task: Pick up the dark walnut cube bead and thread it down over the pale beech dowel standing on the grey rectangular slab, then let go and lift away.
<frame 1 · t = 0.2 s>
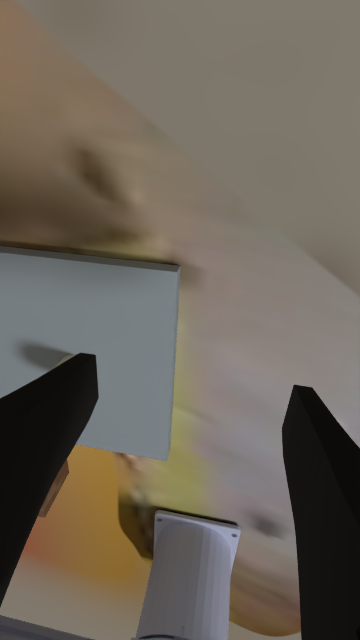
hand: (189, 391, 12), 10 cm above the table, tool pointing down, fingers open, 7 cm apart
grey rectangular slab: (82, 357, 25), on the table
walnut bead: (40, 449, 31), on the table
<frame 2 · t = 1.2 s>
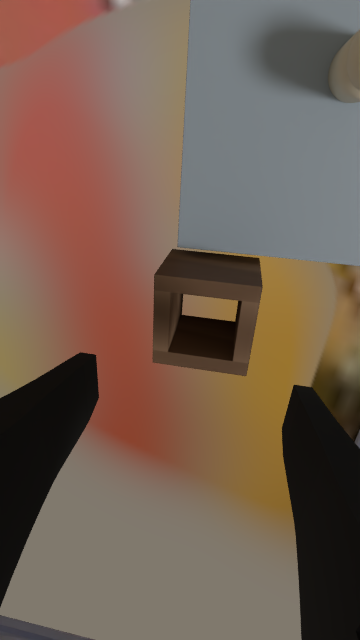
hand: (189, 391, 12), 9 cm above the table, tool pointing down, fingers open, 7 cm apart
grey rectangular slab: (349, 76, 15), on the table
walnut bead: (210, 293, 21), on the table
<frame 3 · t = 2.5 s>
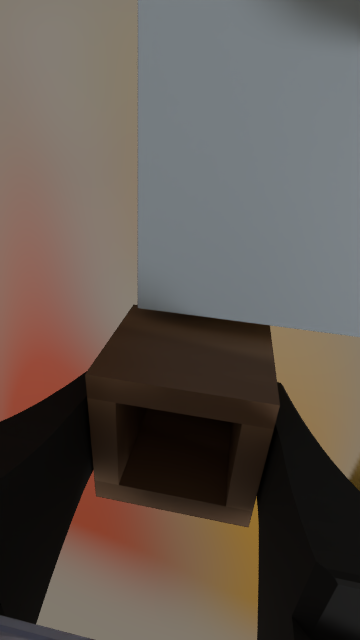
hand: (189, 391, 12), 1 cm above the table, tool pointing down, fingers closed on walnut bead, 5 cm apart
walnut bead: (194, 368, 14), on the table, touching gripper
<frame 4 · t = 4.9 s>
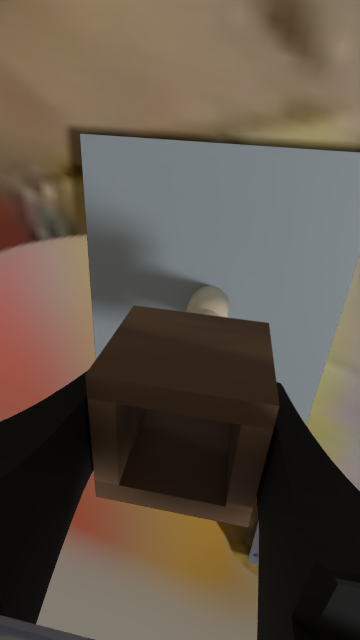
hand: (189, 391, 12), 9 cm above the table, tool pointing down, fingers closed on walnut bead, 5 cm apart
grey rectangular slab: (211, 295, 20), on the table
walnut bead: (194, 369, 14), point 7 cm above the table, touching gripper
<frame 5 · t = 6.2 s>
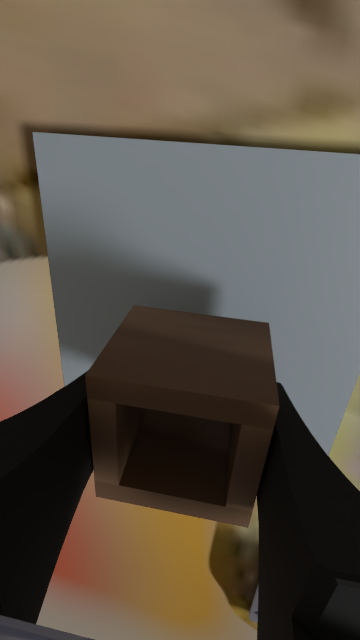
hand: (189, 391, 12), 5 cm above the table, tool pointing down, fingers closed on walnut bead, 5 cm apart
grey rectangular slab: (203, 329, 17), on the table
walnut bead: (194, 369, 14), point 3 cm above the table, touching gripper
when the fingers open (4 cm above the table, at t = 7.3 s): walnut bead drops 1 cm, resting on grey rectangular slab.
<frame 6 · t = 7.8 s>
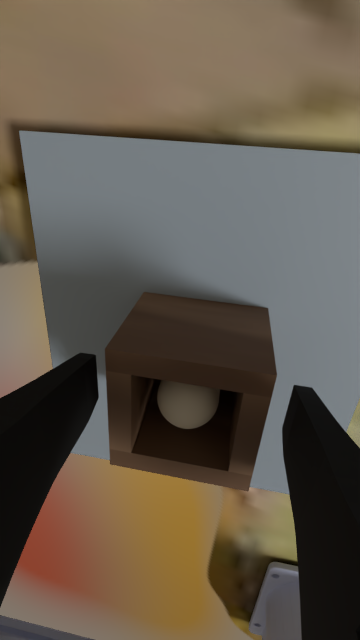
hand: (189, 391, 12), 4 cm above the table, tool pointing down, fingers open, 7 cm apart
grey rectangular slab: (201, 337, 16), on the table
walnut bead: (198, 352, 15), point 1 cm above the table, touching grey rectangular slab
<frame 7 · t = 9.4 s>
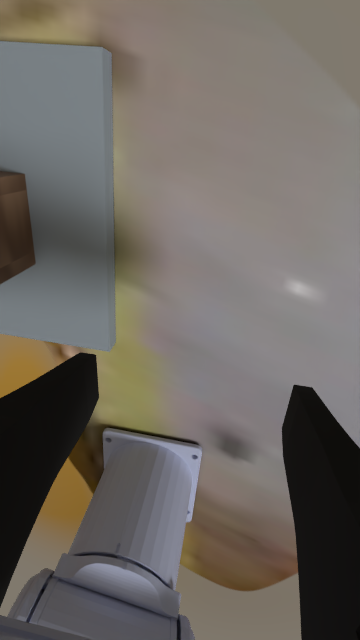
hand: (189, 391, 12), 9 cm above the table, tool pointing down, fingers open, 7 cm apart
grey rectangular slab: (2, 212, 21), on the table
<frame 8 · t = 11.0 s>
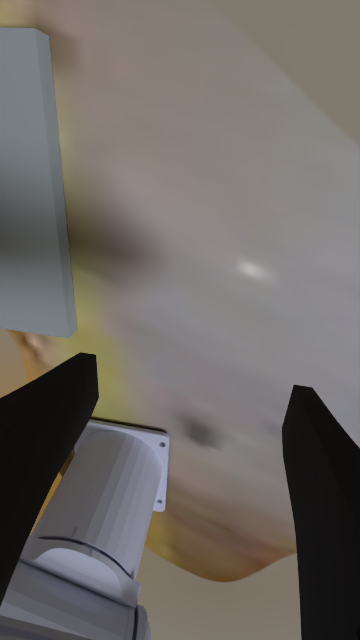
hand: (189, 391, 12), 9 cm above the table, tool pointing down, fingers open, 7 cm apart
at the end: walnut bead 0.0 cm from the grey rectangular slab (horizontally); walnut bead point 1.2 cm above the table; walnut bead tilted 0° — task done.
